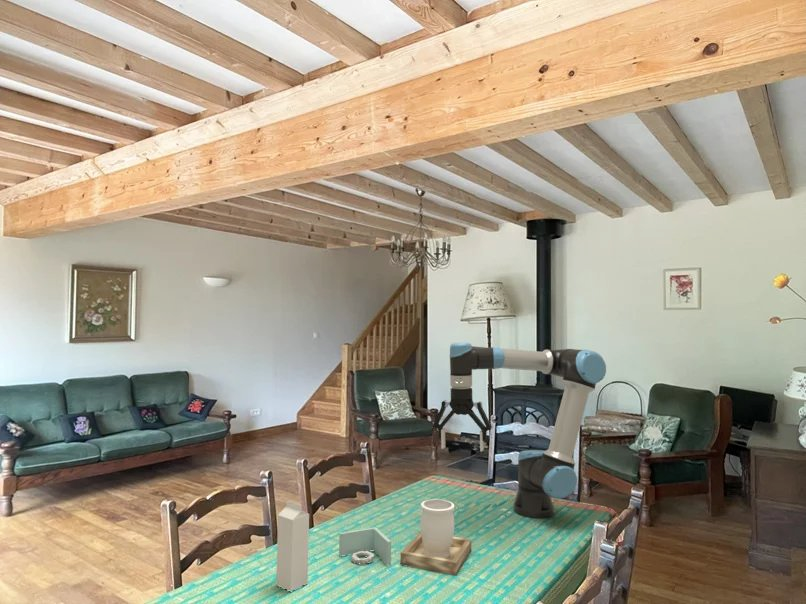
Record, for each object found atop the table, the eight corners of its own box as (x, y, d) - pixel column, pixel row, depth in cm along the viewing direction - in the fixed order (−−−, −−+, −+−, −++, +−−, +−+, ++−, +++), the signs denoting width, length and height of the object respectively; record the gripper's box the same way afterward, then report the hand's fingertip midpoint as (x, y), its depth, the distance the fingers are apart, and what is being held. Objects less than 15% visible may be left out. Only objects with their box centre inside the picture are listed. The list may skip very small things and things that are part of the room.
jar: (451, 563, 155) (452, 511, 156) (417, 559, 157) (418, 508, 158) (455, 548, 165) (456, 500, 166) (423, 545, 168) (423, 497, 168)
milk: (292, 578, 147) (295, 497, 148) (307, 584, 143) (310, 501, 144) (275, 586, 142) (278, 502, 143) (290, 593, 138) (293, 507, 140)
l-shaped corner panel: (339, 558, 161) (339, 533, 162) (375, 551, 166) (375, 527, 167) (352, 575, 150) (352, 548, 151) (390, 567, 156) (391, 541, 156)
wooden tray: (471, 550, 166) (471, 539, 167) (456, 575, 150) (456, 562, 150) (420, 542, 173) (420, 531, 173) (400, 564, 156) (400, 552, 156)
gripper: (423, 387, 184) (424, 449, 183) (495, 389, 175) (497, 454, 175) (429, 385, 191) (430, 444, 190) (499, 387, 183) (500, 448, 182)
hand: (462, 449), depth 182 cm, fingers open, 13 cm apart
